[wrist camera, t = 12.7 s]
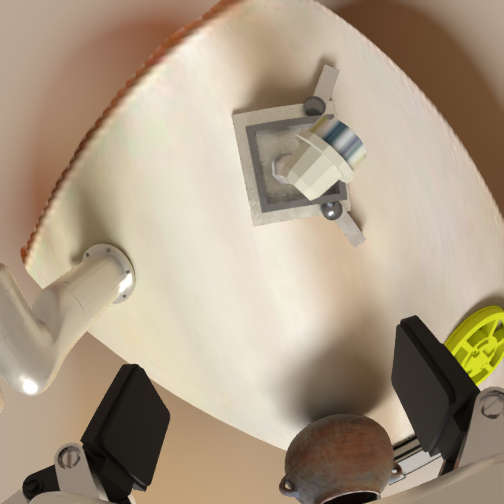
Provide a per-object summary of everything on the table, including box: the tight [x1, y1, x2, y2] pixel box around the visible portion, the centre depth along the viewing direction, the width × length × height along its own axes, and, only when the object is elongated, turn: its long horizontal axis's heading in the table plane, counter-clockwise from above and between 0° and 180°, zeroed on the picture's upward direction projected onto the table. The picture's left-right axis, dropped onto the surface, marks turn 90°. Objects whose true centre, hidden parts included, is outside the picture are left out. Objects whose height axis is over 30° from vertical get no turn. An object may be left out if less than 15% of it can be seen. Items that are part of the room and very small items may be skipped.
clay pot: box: [279, 413, 402, 504], centre depth 47 cm, size 26×25×30 cm
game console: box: [388, 436, 441, 485], centre depth 64 cm, size 21×32×8 cm, turn 127°
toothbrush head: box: [272, 114, 367, 201], centre depth 29 cm, size 5×7×25 cm
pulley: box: [444, 305, 504, 386], centre depth 51 cm, size 28×28×5 cm
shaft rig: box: [232, 64, 366, 248], centre depth 38 cm, size 18×30×7 cm, turn 11°
